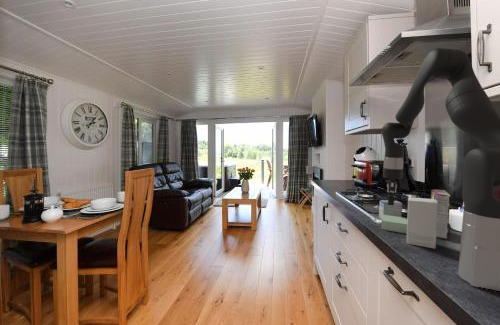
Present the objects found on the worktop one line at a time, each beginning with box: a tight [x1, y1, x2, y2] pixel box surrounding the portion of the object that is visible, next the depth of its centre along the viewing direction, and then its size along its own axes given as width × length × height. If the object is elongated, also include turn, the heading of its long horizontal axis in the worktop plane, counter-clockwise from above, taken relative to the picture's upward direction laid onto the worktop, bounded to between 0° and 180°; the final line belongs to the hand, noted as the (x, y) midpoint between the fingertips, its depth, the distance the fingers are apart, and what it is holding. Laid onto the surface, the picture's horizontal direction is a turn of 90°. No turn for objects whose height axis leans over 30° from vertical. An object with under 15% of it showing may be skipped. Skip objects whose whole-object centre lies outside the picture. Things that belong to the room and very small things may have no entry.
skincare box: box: [406, 196, 438, 250], centre depth 82 cm, size 8×7×16 cm
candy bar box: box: [430, 189, 451, 240], centre depth 92 cm, size 11×5×16 cm, turn 147°
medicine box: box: [378, 199, 403, 220], centre depth 108 cm, size 8×4×9 cm, turn 84°
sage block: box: [380, 214, 407, 235], centre depth 98 cm, size 10×10×4 cm
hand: (390, 203), depth 108 cm, fingers open, 8 cm apart
